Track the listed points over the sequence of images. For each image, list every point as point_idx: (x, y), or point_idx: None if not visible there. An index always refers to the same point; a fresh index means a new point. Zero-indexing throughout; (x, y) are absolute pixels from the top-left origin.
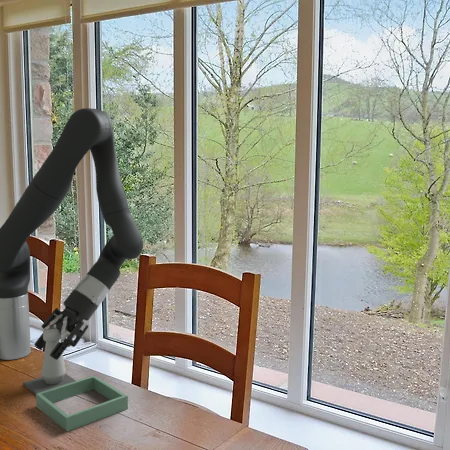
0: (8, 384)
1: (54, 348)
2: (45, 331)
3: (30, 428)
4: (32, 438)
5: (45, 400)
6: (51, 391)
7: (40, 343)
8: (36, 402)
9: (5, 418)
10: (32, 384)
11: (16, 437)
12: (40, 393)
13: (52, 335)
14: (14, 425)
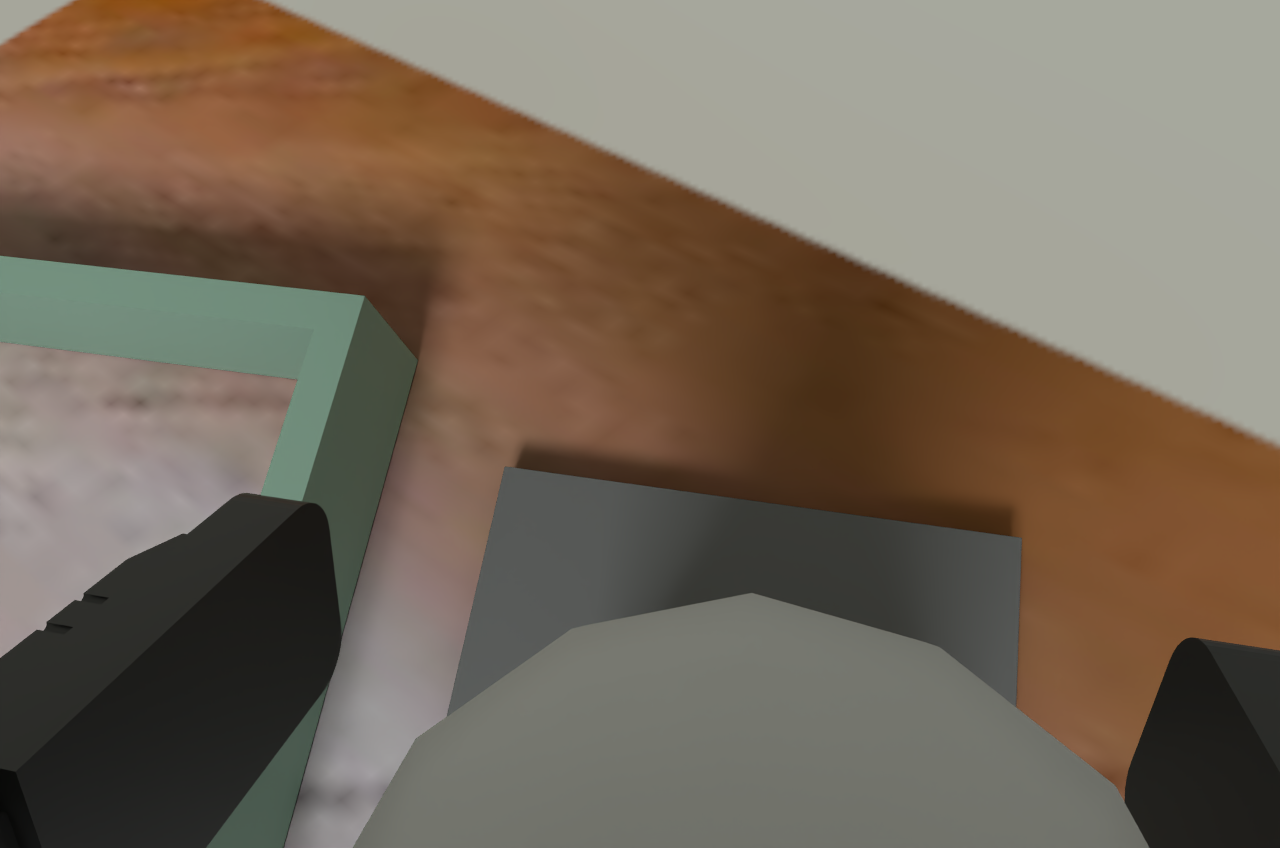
0: (1162, 439)
1: (180, 591)
2: (932, 769)
3: (162, 147)
4: (44, 94)
5: (151, 280)
6: (281, 456)
7: (1204, 799)
8: (399, 341)
9: (466, 96)
10: (873, 580)
11: (157, 34)
12: (327, 331)
13: (386, 804)
14: (308, 93)
